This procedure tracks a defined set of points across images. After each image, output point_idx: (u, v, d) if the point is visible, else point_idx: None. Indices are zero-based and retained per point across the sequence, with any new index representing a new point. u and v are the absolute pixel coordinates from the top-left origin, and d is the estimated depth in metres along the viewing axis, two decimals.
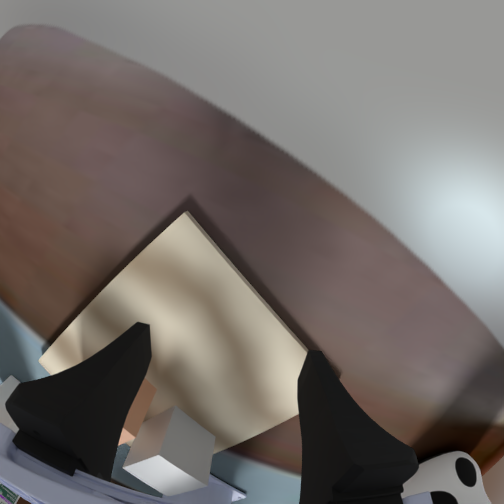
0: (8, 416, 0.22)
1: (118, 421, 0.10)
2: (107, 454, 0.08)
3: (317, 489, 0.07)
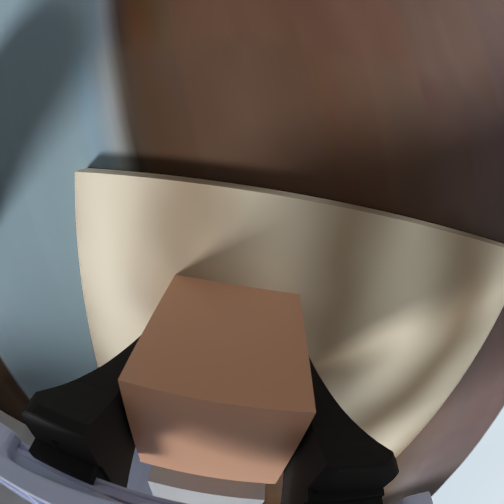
0: None
1: None
2: (125, 460, 0.08)
3: (296, 489, 0.07)
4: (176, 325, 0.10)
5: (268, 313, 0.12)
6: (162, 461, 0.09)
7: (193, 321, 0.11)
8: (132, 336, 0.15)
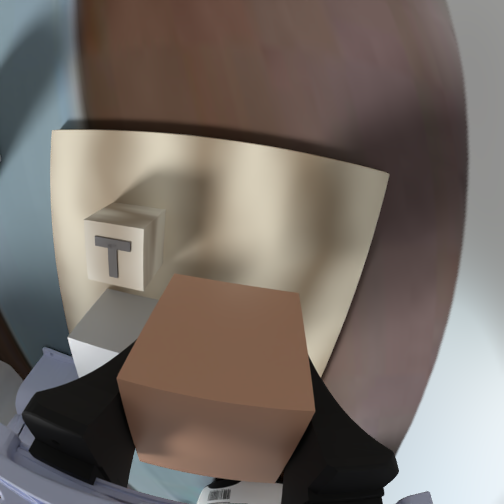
0: None
1: None
2: (125, 460, 0.08)
3: (296, 489, 0.07)
4: (175, 324, 0.10)
5: (267, 312, 0.12)
6: (161, 460, 0.09)
7: (192, 320, 0.10)
8: (79, 241, 0.21)
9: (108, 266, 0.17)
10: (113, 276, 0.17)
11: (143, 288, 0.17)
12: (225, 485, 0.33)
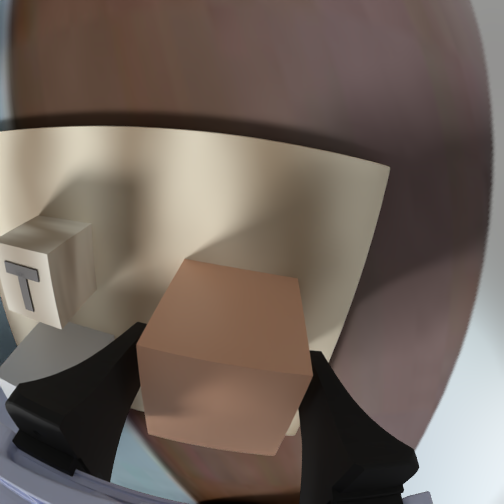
0: None
1: (118, 421, 0.10)
2: (107, 454, 0.08)
3: (317, 489, 0.07)
4: (187, 300, 0.11)
5: (269, 293, 0.13)
6: (169, 432, 0.11)
7: (202, 298, 0.12)
8: None
9: (22, 297, 0.11)
10: (30, 309, 0.12)
11: (61, 325, 0.12)
12: None
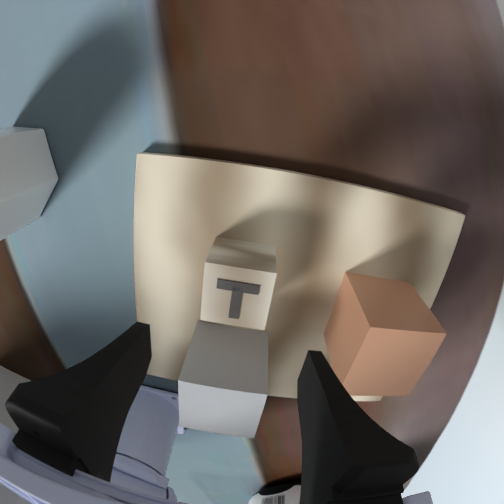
0: (6, 187, 0.14)
1: (118, 421, 0.10)
2: (107, 454, 0.08)
3: (317, 489, 0.07)
4: (371, 299, 0.18)
5: (403, 292, 0.19)
6: (354, 388, 0.17)
7: (376, 297, 0.18)
8: (168, 274, 0.22)
9: (229, 308, 0.18)
10: (233, 317, 0.18)
11: (264, 327, 0.18)
12: (278, 491, 0.34)
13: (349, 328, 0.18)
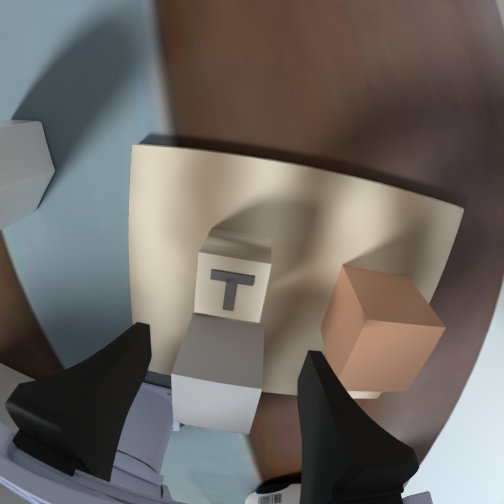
0: (3, 178, 0.14)
1: (118, 421, 0.10)
2: (107, 454, 0.08)
3: (317, 489, 0.07)
4: (368, 292, 0.17)
5: (401, 286, 0.19)
6: (351, 383, 0.17)
7: (374, 290, 0.18)
8: (163, 266, 0.21)
9: (223, 299, 0.17)
10: (227, 309, 0.18)
11: (259, 319, 0.18)
12: (275, 490, 0.34)
13: (346, 321, 0.18)
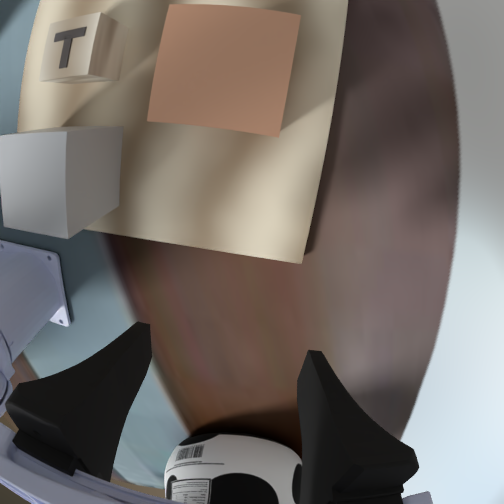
0: None
1: (118, 421, 0.10)
2: (107, 454, 0.08)
3: (317, 489, 0.07)
4: None
5: None
6: (170, 107, 0.11)
7: None
8: (43, 82, 0.16)
9: (60, 58, 0.12)
10: (63, 68, 0.12)
11: (88, 71, 0.13)
12: (198, 440, 0.28)
13: None
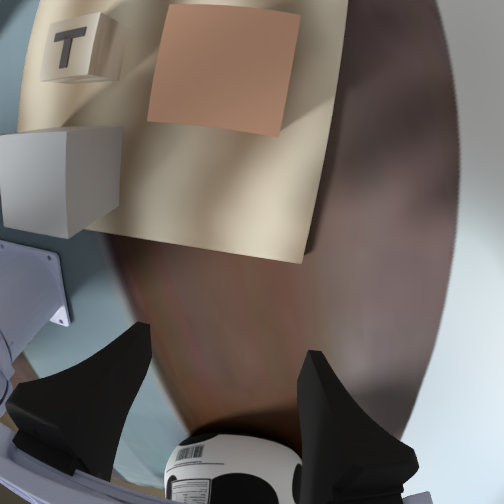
0: None
1: (118, 421, 0.10)
2: (107, 454, 0.08)
3: (317, 489, 0.07)
4: None
5: None
6: (170, 107, 0.11)
7: None
8: (43, 82, 0.16)
9: (60, 58, 0.12)
10: (63, 68, 0.12)
11: (88, 71, 0.13)
12: (198, 440, 0.28)
13: None
